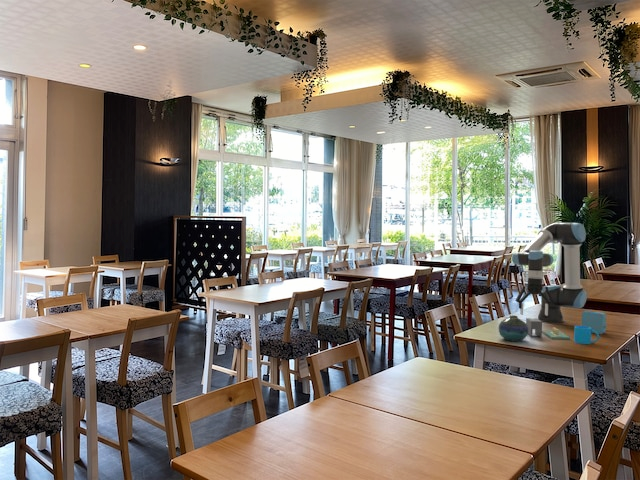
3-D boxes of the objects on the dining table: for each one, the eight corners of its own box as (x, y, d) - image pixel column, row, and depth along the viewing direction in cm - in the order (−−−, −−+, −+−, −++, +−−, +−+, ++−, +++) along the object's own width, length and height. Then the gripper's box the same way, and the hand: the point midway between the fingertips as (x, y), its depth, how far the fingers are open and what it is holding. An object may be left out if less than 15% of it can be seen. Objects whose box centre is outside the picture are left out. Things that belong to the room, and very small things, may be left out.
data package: (605, 333, 290) (606, 313, 290) (603, 334, 287) (603, 314, 287) (584, 330, 299) (584, 310, 299) (581, 331, 296) (581, 311, 296)
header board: (541, 332, 291) (541, 325, 291) (559, 333, 290) (559, 325, 290) (551, 339, 276) (551, 331, 275) (570, 339, 274) (570, 332, 274)
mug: (572, 342, 269) (573, 327, 268) (575, 339, 275) (576, 324, 275) (597, 346, 261) (598, 330, 261) (600, 343, 268) (600, 328, 267)
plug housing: (525, 333, 289) (526, 317, 289) (536, 333, 288) (536, 318, 288) (530, 337, 280) (531, 321, 280) (541, 337, 279) (542, 321, 279)
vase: (525, 344, 262) (526, 319, 262) (495, 340, 270) (495, 316, 270) (530, 339, 275) (530, 315, 275) (501, 335, 283) (502, 312, 283)
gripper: (514, 277, 280) (513, 315, 281) (560, 279, 278) (559, 316, 278) (510, 276, 288) (509, 312, 289) (555, 277, 285) (554, 314, 286)
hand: (533, 314), depth 284 cm, fingers open, 13 cm apart
